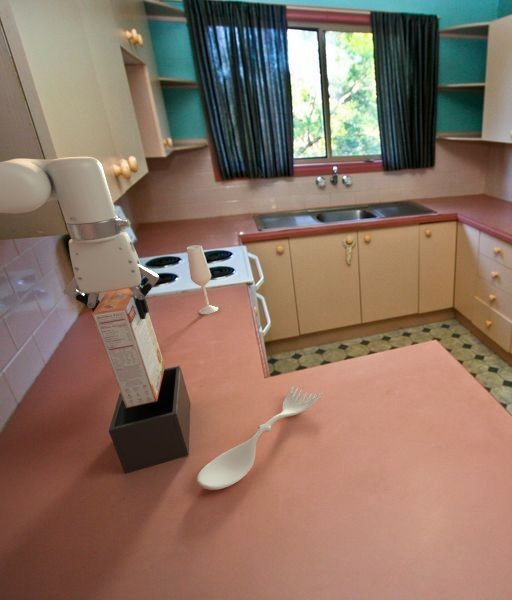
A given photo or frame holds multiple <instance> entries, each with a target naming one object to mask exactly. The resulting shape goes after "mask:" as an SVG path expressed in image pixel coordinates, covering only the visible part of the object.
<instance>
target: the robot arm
mask: <svg viewBox="0 0 512 600" xmlns="http://www.w3.org/2000/svg"><path fill="white" fill-rule="evenodd" d="M52 201H58V202H59V205H60V208H61V211H62V214H63V217H64V220H65V222H66V225H67V228H68V231H69V234H70V237H71V238H70V239H69V240H68V251H69V256H70V261H71V266H72V271H73V275H74V276H73V277H72V279H71V280H70V281H69V283H67V285H66V287H65V288H64V289H63V290H62V292H63V294H64V295H66V296H68V297H70V298H73V299H76V301H78V302H80V303H81V304H85V305H86V306H87V307H88V308H89V309H91V311H92V313H93V312H94V310H95V309H96V307H97V306H98V304H99V303H100V301H101V300H100V299H99V298H100V293H106V292H107V291H114V290H120V289H127V288H129V289H130V290H131V291H132V292H133V294H134V295H135V296H136V306H137V309H138V312H139V315H140V319H145V317H146V313H149V314H150V309H149V306H148V302H147V299H146V297H147V296H148V294H149V293H150V291H152V288H153V287H155V285H156V284H157V282H158V281H159V279H160V276H159V275H158V274H157V273H155V272H154V271H153V270H150V269H148V268H147V267H145V266H143V265H142V264H141V261H140V257H139V255H138V253H137V250H136V248H135V246H134V244H133V241H132V239H131V237H130V235H129V233H128V232H126V231H123V230H124V229H126V228H130V223H129V220H128V219H120V218H119V216H118V214H117V212H116V211H117V210H116V208H115V204H114V201H113V198H112V195H111V191H110V188H109V184H108V181H107V178H106V175H105V171H104V167H103V165H102V163H101V161H100V160H99V159H98V158H95V157H93V156H71V157H70V156H68V157H60V158H54V159H41V158H40V159H38V158H11V159H8V160H3V161H0V214H25V213H30V212H33V211H36V210H37V209H39V208H40V207H42V206H43V205H45V204H47V203H48V202H52ZM144 277H145V278H146V279H148V280H147V281H146V282H145V283H144V285H143V286H142V285H141V284H142V279H143V278H144ZM77 287H78V288H77ZM78 289H79V290H78Z"/></svg>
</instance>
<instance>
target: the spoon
mask: <svg viewBox="0 0 512 600" xmlns="http://www.w3.org/2000/svg"><path fill="white" fill-rule="evenodd" d="M295 388H296V384H293V385H292V386H291V387H290V388H289V390H288V392H287V394H286V395H285V398H284V399H283V401H282V405H281V412H280V413H278V414H275V415H274V416H272V417H271V418H270V419H269V420H267V421H266V422H264V423H261V424H259V425H258V430H257V432H256V433H254V435H253V436H251V437H250V438H249V439H246V441H244V442H242V443H240V444H238V445H236V446H234V447H232V448H230V449H228V450H226V451H224V452H223V453H221V454H219V455H218V456H216V457H214V458H213V459H212V460H210V461H209V462H208V463H207V464H205V465H204V466H203V467H202V468H201V470H200V471H199V473H198V474H197V476H196V481H197V484H198V485H199V486H200V487H201V488H203V489H205V490H208V491H217V490H222V489H223V490H224V489H226V488H229V487H230V486H232V485H234V484H236V483H237V482H239V481H241V480H242V479H243V478H244V477H245V476H246V475H247V474H248V473H249V471H251V469H252V468H253V466H254V464H255V459H256V454H257V453H256V452H257V451H256V450H257V442H258V440H259V438H260V437H261V435H263V434H264V433H267V432H270V431H271V430H272V429H273V428H272V426H273V425H274V424H275V423H276V422H278V421H279V420H281V419H284V418H289V417H293V416H296V415H300V414H302V413H304V412H305V411H308V409H310V407H312V406H313V405H314V404H315V403H317V402H318V401H319V400H320V399H321V397H322V395H323V392H320V393H317V392H316V393H313V392H311V393H310V394H309V395H308V391H306V392H305V393H303V389H300V391H298V390H299V387H297V388H296V389H295ZM302 393H303V394H302ZM301 394H302V395H301Z"/></svg>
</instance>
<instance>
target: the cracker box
mask: <svg viewBox="0 0 512 600" xmlns="http://www.w3.org/2000/svg"><path fill="white" fill-rule="evenodd" d="M99 301H100V303H99V304H98V306H97V307H96V309H95V310H94V312H93V311H92V313H91V318H92V320H93V323H94V325H95V328H96V331H97V333H98V336H99V339H100V341H101V344H102V347H103V350H104V353H105V355H106V358H107V361H108V364H109V366H110V369H111V371H112V374H113V377H114V379H115V382H116V385H117V387H118V390H119V394H120V393H121V395H122V398H123V401H124V404H125V406H126V408H130V407H134V406H139V405H143V404H148V403H152V402H156V401H157V400H158V395H159V391H160V386H161V382H162V378H163V373H164V369H166V368H165V367H166V365H165V362H164V359H163V356H162V355H163V354H162V352H161V349H160V345H159V341H158V339H157V335H156V333H155V330H154V326H153V323H152V320H151V315H150V312H149V313H146V317H145V319H140V315H139V312H138V309H137V306H136V296H135V295H134V294H133V292H132V291H131V290H130V289H129V288H127V289H120V290H114V291H107V292H105V293H104V295H103V296H102V298H101V300H99Z"/></svg>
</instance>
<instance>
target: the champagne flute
mask: <svg viewBox="0 0 512 600" xmlns="http://www.w3.org/2000/svg"><path fill="white" fill-rule="evenodd" d="M186 255H187V261H188V268H189V275H190V280H191V281H192V283H194V284H195V285H197V286H199V287H201V291H202V296H203V299H204V303H205V304H204V305H205V306H203V307H201V309H199V310H198V313H199V314H200V315H210V314H213V313H215V312H218V310H219V307H218V306H214V305H211V304H210V302H209V298H208V293H207V289H206V286H207V284H208V283H209V282H210V281H211V279H212V273H211V270H210V268H209V264H208V262H207V257H206V255H205V252H204V249H203V245H200V244H194V245H189V246H187V247H186Z"/></svg>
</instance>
